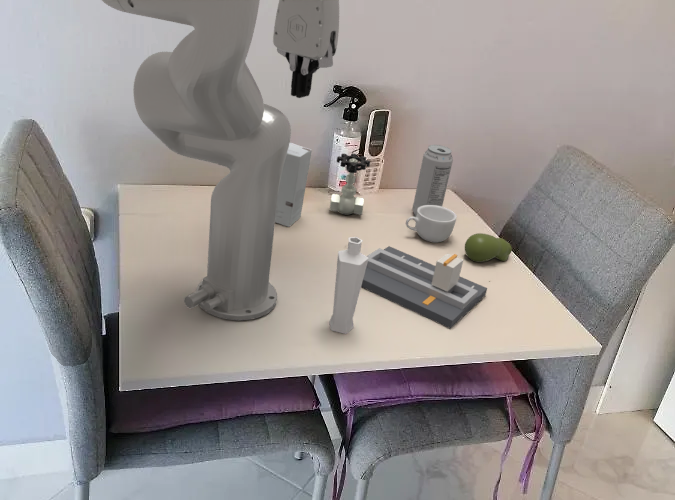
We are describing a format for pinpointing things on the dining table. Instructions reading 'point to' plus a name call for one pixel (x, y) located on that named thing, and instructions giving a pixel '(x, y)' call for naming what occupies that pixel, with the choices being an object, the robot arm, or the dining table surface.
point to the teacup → (433, 222)
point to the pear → (486, 248)
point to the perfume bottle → (348, 285)
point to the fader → (447, 272)
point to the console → (418, 286)
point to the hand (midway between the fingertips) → (300, 95)
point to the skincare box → (292, 185)
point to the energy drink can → (433, 177)
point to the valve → (349, 186)
